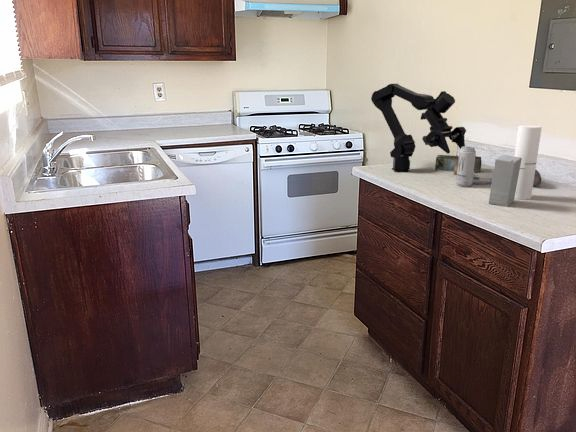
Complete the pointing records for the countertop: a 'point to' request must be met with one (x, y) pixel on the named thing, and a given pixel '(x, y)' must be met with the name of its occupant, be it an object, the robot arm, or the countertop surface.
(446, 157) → the beverage carton
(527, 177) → the cylindrical container
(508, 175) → the skincare box
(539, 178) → the perforated stone tool
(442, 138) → the robot arm
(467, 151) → the energy drink can
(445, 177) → the countertop surface
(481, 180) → the coaster
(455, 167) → the walnut block
